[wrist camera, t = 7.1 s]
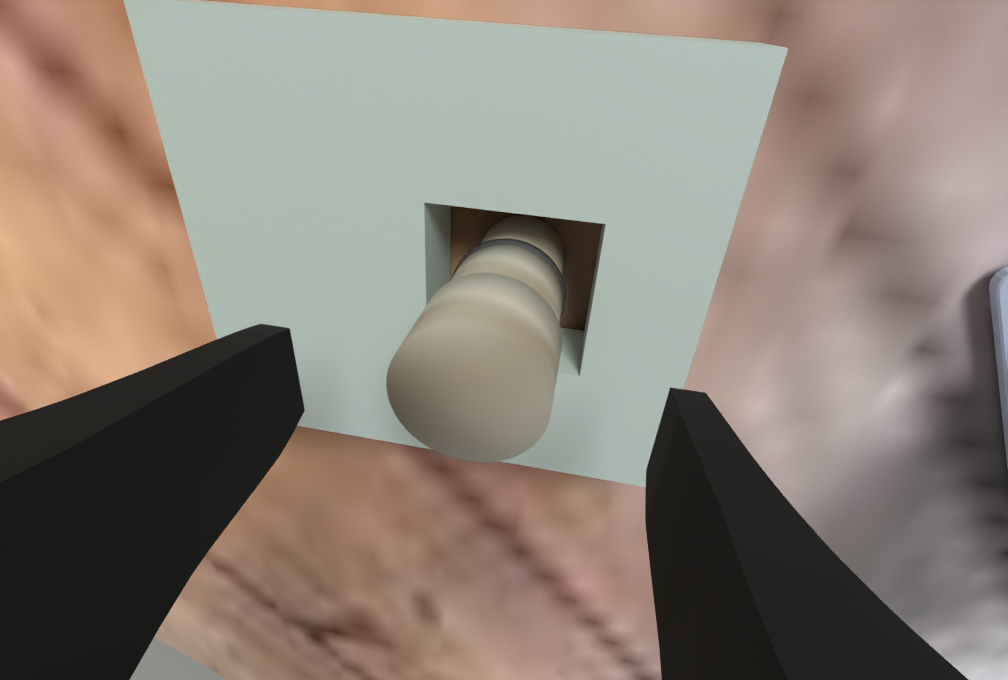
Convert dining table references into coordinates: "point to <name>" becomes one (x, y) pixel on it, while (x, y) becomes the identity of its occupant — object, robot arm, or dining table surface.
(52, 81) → the dining table surface
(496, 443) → the peg
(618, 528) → the dining table surface
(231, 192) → the hole board
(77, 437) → the robot arm
